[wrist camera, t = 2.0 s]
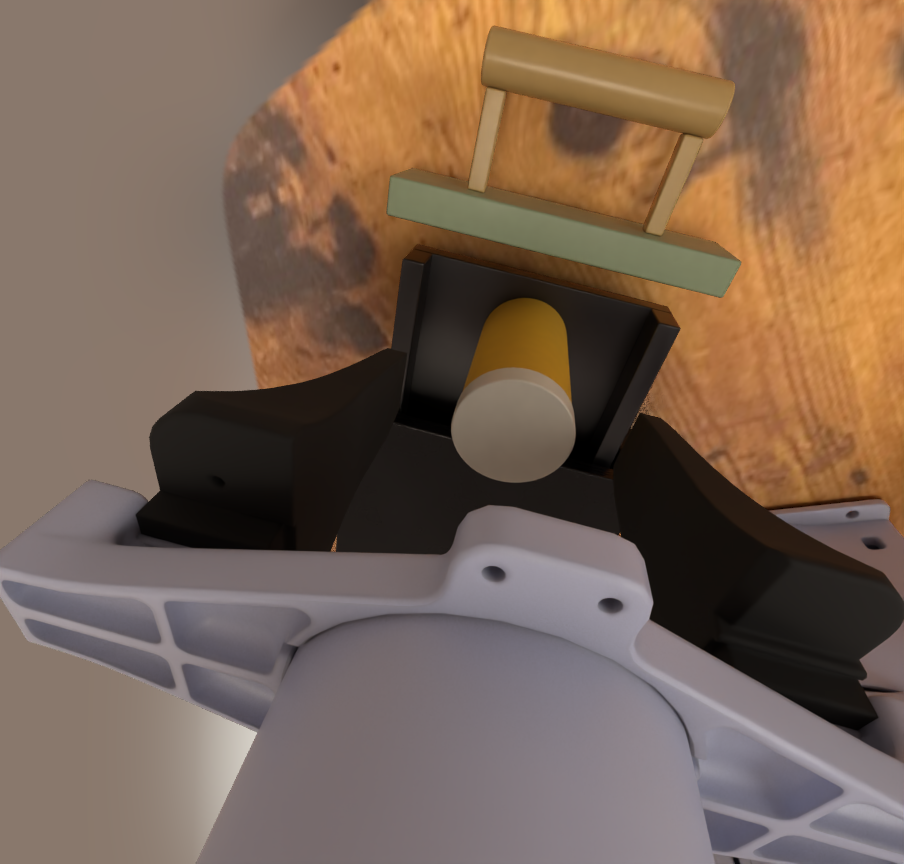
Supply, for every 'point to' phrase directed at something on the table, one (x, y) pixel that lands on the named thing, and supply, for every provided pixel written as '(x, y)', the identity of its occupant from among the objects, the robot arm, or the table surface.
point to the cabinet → (457, 494)
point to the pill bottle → (517, 395)
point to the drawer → (558, 241)
